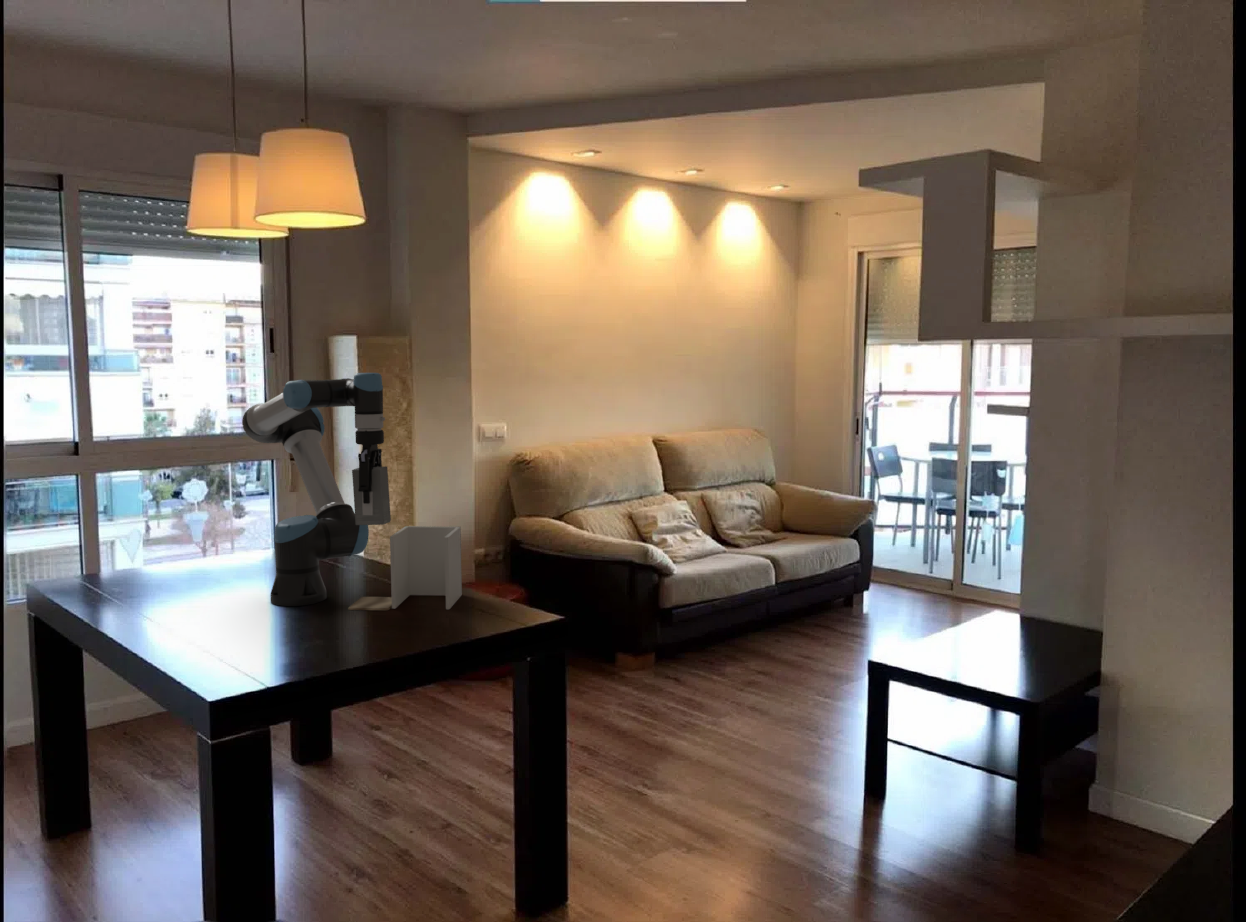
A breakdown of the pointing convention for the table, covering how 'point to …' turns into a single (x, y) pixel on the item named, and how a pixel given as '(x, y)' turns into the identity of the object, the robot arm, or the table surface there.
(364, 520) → the skincare box
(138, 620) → the table surface
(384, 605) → the cork coaster
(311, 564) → the robot arm
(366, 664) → the table surface
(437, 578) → the shelf bay
